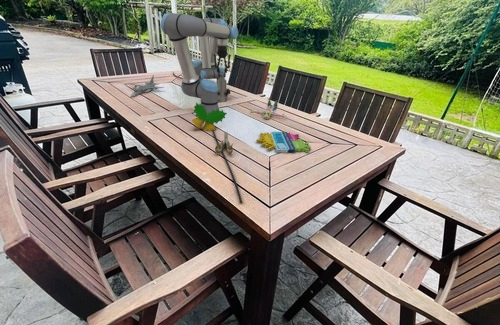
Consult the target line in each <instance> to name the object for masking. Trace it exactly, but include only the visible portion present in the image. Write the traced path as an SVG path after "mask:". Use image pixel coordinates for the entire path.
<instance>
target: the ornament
mask: <svg viewBox="0 0 500 325" xmlns="http://www.w3.org/2000/svg"><path fill="white" fill-rule="evenodd" d="M219 110H220V108H219V109H217V110H216V111H214V110H212V112H211V113H208V112H206V109H204V106H201V103H198V102H195V105H194V106H193V112H194V113H195V118H192V119H191V122H192V123H193V125H195V127H197V128H198V129H202V130H203V131H206V132H213V131H212V130H214V131H215V130H216V126H215V124H218V123H219V122H223V119H226V115H227V114H228V113H227V112H224V110H223V109H221V110H220V111H219ZM207 113H208V115H207ZM214 123H215V124H214Z"/></svg>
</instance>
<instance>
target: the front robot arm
mask: <svg viewBox="0 0 500 325" xmlns="http://www.w3.org/2000/svg"><path fill="white" fill-rule="evenodd" d="M203 19H204V18H200V17H197V16H194V15H191V14H187V13H175V12H167V13H164V15H162V17H161V20H160V28H161V29H160V30H161V32H162V33H163V34H165V35H166V36H167V37H168V41H169V42H171V43H172V45H173V48H174V52H175V54H176V57H177V61H178V64H179V67H180V70H181V73H182V76H183V77H182V78H183V79H182V78H181V80H182V81H181V85H180V88H181V91H182V93H183V94H184V95H185V96H188V97H192V98H196V99H200V104H201V106H204V109H206V112H208V113H211V112H212V110H214V111H216V110H217V109H219V111H221V110H220V108H219V101H218V86H217V81H214V80H213V79H203V80H201V81H200V79H199V76H198V75H196V73H195V69H194V65H193V62H192V61H193V59H192V55H191V51H190V48H189V44H188V41H187V40H188V38H191V37H198V36H200V37H202V36H204V35H206V36H209V37H208V38H210V37H217V44H218V46H217V53H215V54H214V59H215V67H216V68H217V73H218V77H220V68H219V67H220V64H221V59H223V62H224V67H225V68H224V69H225V78H226V76H227V73H228V69H230V68H231V67H230V66H231V56H232V55H231V54H229V52H228V40H236V39H238V36H239V30H238V28H237V27H235V26H228V23H227V22H225V21H224V22H225V23H224V22H218V24H215V23H210V22H205V21H204V20H203ZM217 57H218V60H217ZM216 62H217V66H216ZM208 113H207V115H208ZM211 132H212V134H213V137H214V139H215V143H216V142H217V144H218V145H220V143H219V141H218V138H217V136H216V133H215V130H212V131H211ZM217 144H216V145H217ZM220 153H221V155H222V157H223V159H224V161H225V164H226V165H227V167H228V170H229V172H230V174H231V177H232V180H233V184H234V185H235V189H236V192H237V195H238V198H239V203H240V204H243V200H242V196H241V193H240V189H239V187H238V183H237V180H236V177H235V175H234V173H233V171H232V168H231V166H230V164H229V161H228V160H227V158H226V155H225V154H224V150H223V151H221V152H220Z"/></svg>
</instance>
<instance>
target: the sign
mask: <svg viewBox="0 0 500 325" xmlns="http://www.w3.org/2000/svg"><path fill="white" fill-rule="evenodd" d="M299 136H300V135H299V134H298V133H296V134H294V133H291V132H287V131H270V132H264V133H263V132H260V133H259V139H258V138H257V139H256V143H257V144H261V148H263V147H264V148H265V149H267V151H268V152H271V151H272V150H273V149H275V152H276V153H283V154H285V153H287V154H288V153H290V154H293V153H296V152H298V153H301V152H305V153H310V151H311V150H312V149H311V148H312V146H309V142H304V141H303V139H302V138H299Z"/></svg>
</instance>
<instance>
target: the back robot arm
mask: <svg viewBox="0 0 500 325" xmlns="http://www.w3.org/2000/svg"><path fill="white" fill-rule="evenodd" d="M202 19H203V20H204V21H205V22H210V23H215V24H218V22H224V23H226V21H225V20H224V19H223V18H215V17H214V18H213V17H204V18H202ZM197 37H198V38H199V48H200V55H201V56H200V57H201V60H200V59H195V60H192V62H193V65H194V69H195V73H196V75H198V76H199V79H200V81H201V80H216V81H217V80H218V79H220V77H218V73H217V68H216V67H215V59H214V54H215V53H217V46H218V44H217V37H209V36H206V35H204V36H202V37H200V36H197ZM217 64H218V61H216V66H217ZM219 68H220V74H221V73H222V74H225V68H224V67H222V66H219ZM172 73H173V76H174V77H176V78H178V79H181V80H182V79H183V78H184V77H180V76H177V75H175V73H174V72H172ZM224 79H225V80H226V77H224ZM228 95H231V90H230V88H226V98H228Z"/></svg>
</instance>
